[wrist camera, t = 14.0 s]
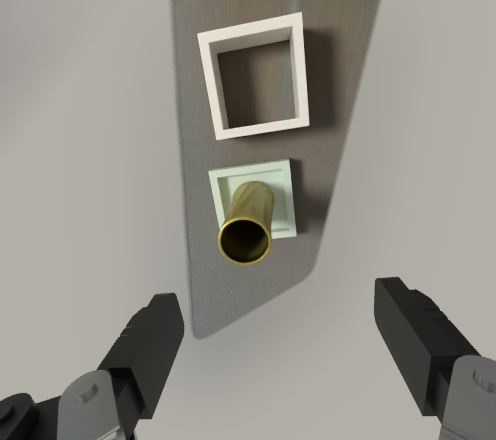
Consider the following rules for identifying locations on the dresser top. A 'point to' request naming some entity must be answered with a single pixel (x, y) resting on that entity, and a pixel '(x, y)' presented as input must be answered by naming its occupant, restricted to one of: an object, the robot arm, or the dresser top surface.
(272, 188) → the tray
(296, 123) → the sleeve
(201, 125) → the dresser top surface
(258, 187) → the vase
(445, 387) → the robot arm
